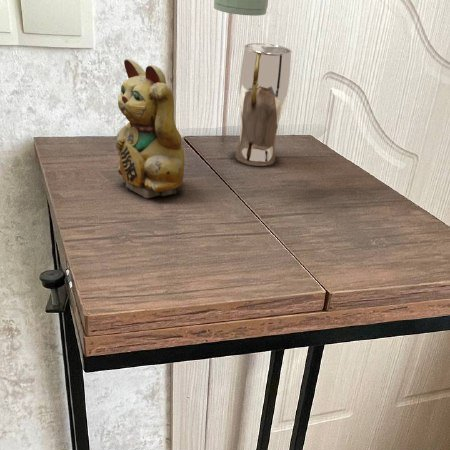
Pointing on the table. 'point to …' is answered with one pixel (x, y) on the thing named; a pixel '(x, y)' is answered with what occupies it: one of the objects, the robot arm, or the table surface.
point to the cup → (242, 6)
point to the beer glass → (261, 101)
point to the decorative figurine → (149, 134)
